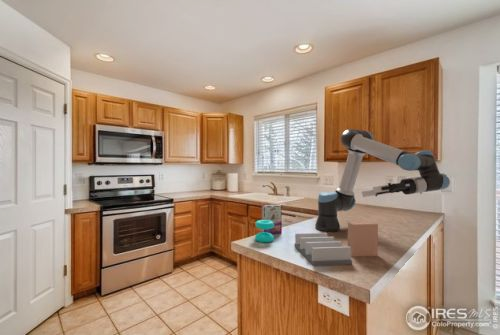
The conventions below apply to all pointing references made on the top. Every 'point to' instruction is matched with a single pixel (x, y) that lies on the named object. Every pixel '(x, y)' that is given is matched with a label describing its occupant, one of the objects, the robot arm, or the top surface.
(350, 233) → the terracotta tile
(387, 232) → the top surface
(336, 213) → the robot arm
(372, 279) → the top surface
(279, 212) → the candy bar box
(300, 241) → the dish rack
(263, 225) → the donuts
